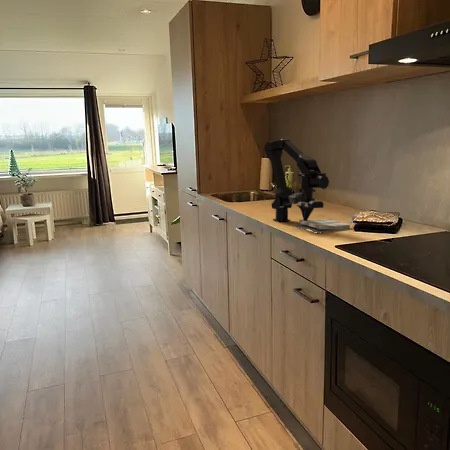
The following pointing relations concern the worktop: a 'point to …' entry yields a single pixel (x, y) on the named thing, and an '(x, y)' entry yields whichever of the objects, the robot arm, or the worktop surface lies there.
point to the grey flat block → (336, 223)
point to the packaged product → (353, 217)
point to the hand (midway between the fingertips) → (305, 220)
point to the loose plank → (319, 224)
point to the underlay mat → (318, 229)
